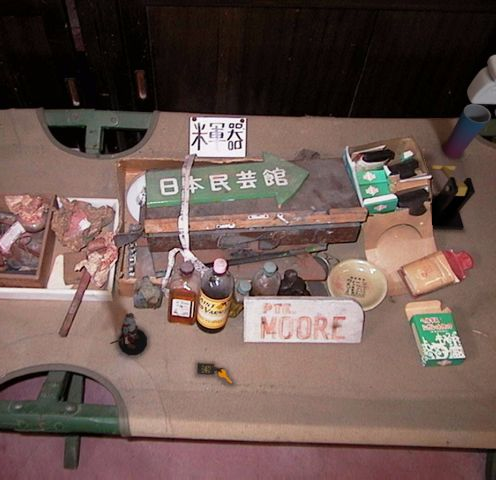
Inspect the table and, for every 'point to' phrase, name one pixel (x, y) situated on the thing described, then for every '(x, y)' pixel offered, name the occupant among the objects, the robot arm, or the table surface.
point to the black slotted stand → (450, 205)
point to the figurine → (131, 337)
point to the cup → (466, 129)
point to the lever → (445, 169)
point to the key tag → (212, 371)
